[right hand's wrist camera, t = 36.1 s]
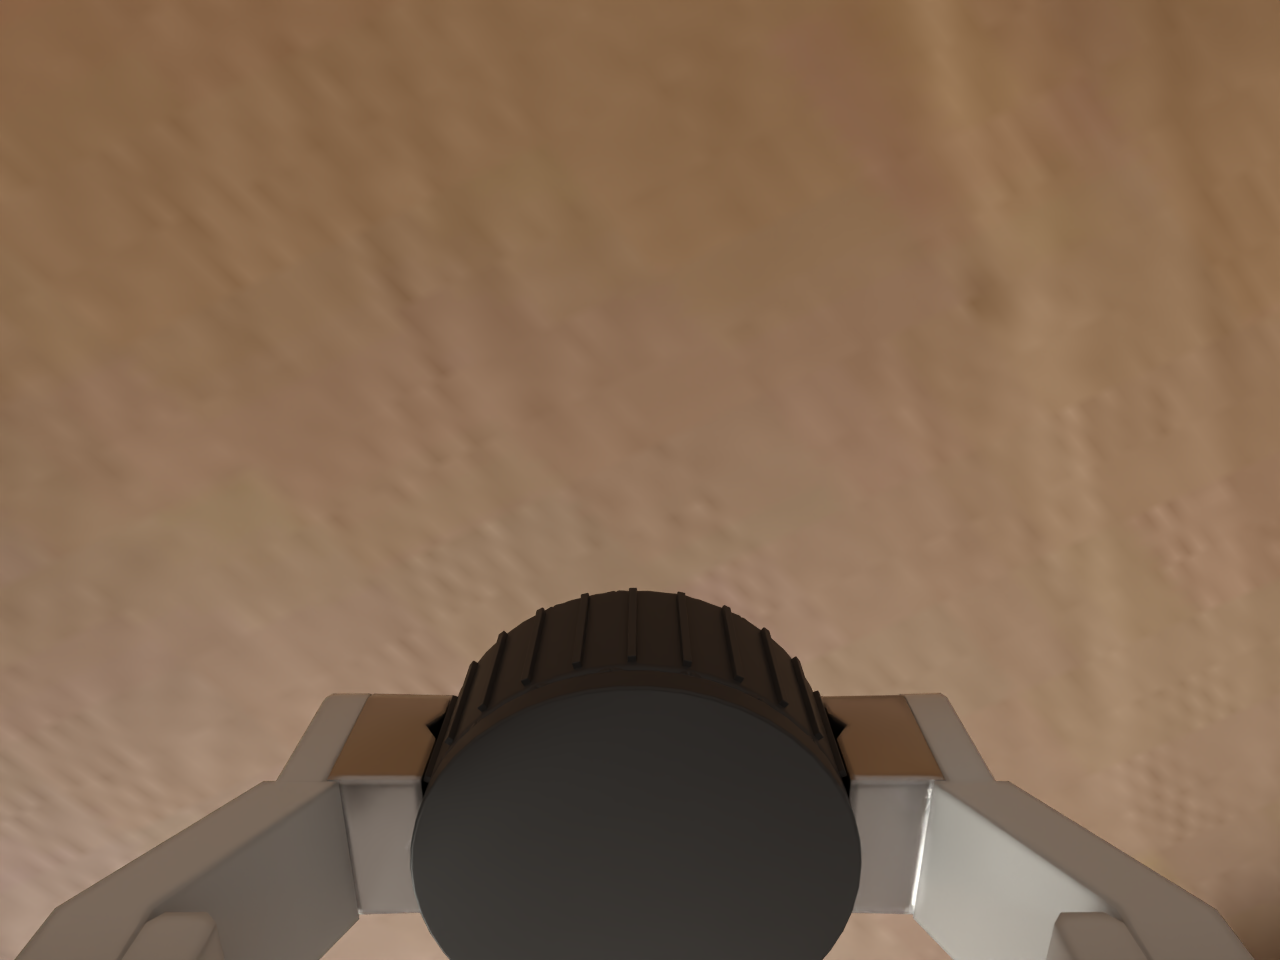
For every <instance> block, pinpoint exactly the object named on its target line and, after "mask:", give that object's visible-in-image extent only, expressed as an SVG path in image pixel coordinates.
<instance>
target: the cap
mask: <svg viewBox="0 0 1280 960" xmlns="http://www.w3.org/2000/svg"><path fill="white" fill-rule="evenodd" d="M845 776H847V774H846V771H845V768H844V765H843V762H842V759H841V756H840V753H839V750H838V747H837V744H836V741H835V738H834V735H833V732H832V729H831V726H830V723H829V720H828V717H827V714H826V711H825V708H824V705H823V702H822V699H821V696H820V694H819V691H815V692H813V691H812V688H811V686H810V685H809V683H808V681H807V680H806V678H805V676H804V673H803V670H802V666H801V663H800V661H799V659H798V658H797V657H794V658H792V659H791V657H790V656H789V655H788V654H787V653H786V651H785V650H784V649H783V648H782V647H780V646H779V645H778V644H777V643H776V642H775V641H774V640H773V639H772V638H771V636H770V632H769V630H767V629H766V628H763V629H762V630H760V629H758V628H757V627H755V626H754V625H753V624H751V623H750V622H748V621H747V620H746V619H744V618H741V617H740V616H739V615H737V614H734V613H731V609H730V607H727V606H725V605H724V606H723V607H722V608H721V607H718V606H715V605H713V604H710V603H707V602H704V601H701V600H699V599H694V598H691V597H688V596H686V595H685V593H683V592H678V593H677V594H672V593H662V592H653V591H637V588H629V591H617V592H615V591H611V592H607V593H602V594H595V595H591V596H589V594H588V593H585V594H581V598H579V599H575V600H571V601H568V602H565V603H562V604H558V605H555V606H554V607H550V608H548V609H547V610H544V608H541V609H539V610H537V612H536V616H534V617H532V618H530V619H528V620H526V621H524V622H523V623H521V624H520V625H519V626H517V627H516V628H514V629H513V630H511V631H510V632H509V633H506V632H505V631H503V632H502V633H500V634H499V636H498V640H497V643H496V644H495V645H494V646H492V647H491V648H490V649H489V650H488V651H487V652H486V653H485V655H484V656H483V657H482V658H481V660H480V661H479V662H478V663H477V662H475V661H473V662H472V663H471V664H470V666H469V669H468V672H467V675H466V678H465V681H464V684H463V687H462V688H461V690H460V693H459V696H458V697H457V696H454V695H453V696H452V698H451V701H450V704H449V707H448V710H447V712H446V715H445V718H444V721H443V724H442V727H441V730H440V732H439V735H438V738H437V741H436V744H435V747H434V750H433V752H432V755H431V758H430V761H429V764H428V767H427V770H426V772H425V775H424V778H423V781H424V782H427V783H428V785H427V788H426V791H425V794H424V797H423V800H422V803H421V805H420V808H419V811H418V814H417V817H416V820H415V825H414V830H413V835H412V839H411V851H410V870H411V877H412V885H413V891H414V894H415V897H416V901H417V904H418V907H419V910H420V913H421V915H422V917H423V919H424V921H425V924H426V926H427V928H428V930H429V932H430V934H431V935H432V937H433V938H434V939H435V941H436V942H437V944H438V945H439V947H440V948H441V950H442V951H443V953H444V954H445V955H446V956H447V957H448V958H449V959H450V960H823V958H824V957H825V956H826V955H827V954H828V953H829V951H830V950H831V949H832V947H833V946H834V944H835V943H836V941H837V940H838V938H839V937H840V935H841V933H842V932H843V930H844V928H845V926H846V924H847V922H848V919H849V917H850V915H851V913H852V911H853V907H854V904H855V900H856V897H857V893H858V890H859V885H860V876H861V866H862V858H861V841H860V836H859V832H858V828H857V824H856V819H855V816H854V813H853V809H852V806H851V803H850V800H849V798H848V795H847V791H846V788H845V785H844V782H843V779H842V777H845Z"/></svg>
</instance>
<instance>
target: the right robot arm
mask: <svg viewBox="0 0 1280 960" xmlns="http://www.w3.org/2000/svg"><path fill="white" fill-rule="evenodd" d="M452 696H453V695H412V694H373V695H372V694H332V695H330V696H328V697H326V698H325V699H324V701H323V702H322V704H321V706H320V707H319V709H318V711H317V712H316V714H315V716H314V718H313V719H312V721H311V723H310V724H309V726H308V728H307V729H306V731H305V733H304V735H303V736H302V738H301V740H300V741H299V743H298V745H297V746H296V748H295V750H294V751H293V753H292V755H291V757H290V758H289V760H288V762H287V763H286V765H285V767H284V768H283V770H282V772H281V774H280V775H279V777H278V779H277V780H276V781H263V782H261V783H260V784H258V785H256V786H255V787H253V788H251V789H250V790H248V791H247V792H245V793H243V794H242V795H240V796H238V797H237V798H235V799H233V800H232V801H230V802H229V803H227V804H225V805H224V806H222V807H220V808H219V809H217V810H215V811H214V812H212V813H210V814H209V815H207V816H206V817H204V818H202V819H201V820H199V821H197V822H196V823H194V824H192V825H191V826H189V827H188V828H186V829H184V830H183V831H181V832H179V833H178V834H176V835H174V836H173V837H171V838H169V839H168V840H166V841H165V842H163V843H161V844H160V845H158V846H156V847H155V848H153V849H151V850H150V851H148V852H146V853H145V854H143V855H142V856H140V857H138V858H137V859H135V860H133V861H132V862H130V863H128V864H127V865H125V866H124V867H122V868H120V869H119V870H117V871H115V872H114V873H112V874H110V875H109V876H107V877H105V878H104V879H102V880H101V881H99V882H97V883H96V884H94V885H92V886H91V887H89V888H87V889H86V890H84V891H83V892H81V893H79V894H78V895H76V896H74V897H73V898H71V899H69V900H68V901H66V902H64V903H63V904H61V905H60V906H58V907H56V908H55V909H54V910H53V912H52V913H51V914H50V915H49V917H48V918H47V919H46V920H45V922H44V923H43V924H42V926H41V927H40V928H39V929H38V931H37V932H36V933H35V934H34V936H33V937H32V938H31V940H30V941H29V942H28V943H27V945H26V946H25V947H24V948H23V950H22V951H21V952H20V954H19V955H18V956H17V957H16V959H15V960H319V959H320V958H321V957H322V956H323V955H324V954H325V953H326V952H327V951H328V950H329V949H330V948H331V947H332V946H333V945H334V944H335V943H336V942H337V941H338V940H339V939H340V938H341V937H342V936H343V935H344V934H345V933H346V932H347V931H348V930H349V929H350V928H351V927H352V926H353V925H354V924H355V923H356V922H357V921H358V920H359V914H388V913H420V910H419V907H418V904H417V901H416V897H415V894H414V891H413V885H412V877H411V870H410V851H411V839H412V835H413V830H414V825H415V820H416V817H417V814H418V811H419V808H420V805H421V803H422V800H423V797H424V794H425V791H426V788H427V785H428V783H427V782H424V781H423V778H424V775H425V772H426V770H427V767H428V764H429V761H430V758H431V755H432V752H433V750H434V747H435V744H436V741H437V738H438V735H439V732H440V730H441V727H442V724H443V721H444V718H445V715H446V712H447V710H448V707H449V704H450V701H451V698H452ZM821 699H822V702H823V705H824V708H825V711H826V714H827V717H828V720H829V723H830V726H831V729H832V732H833V735H834V738H835V741H836V744H837V747H838V750H839V753H840V756H841V759H842V762H843V765H844V768H845V771H846V774H847V776H845V777H842V779H843V782H844V785H845V788H846V791H847V795H848V798H849V800H850V803H851V806H852V809H853V813H854V816H855V819H856V824H857V828H858V832H859V836H860V841H861V858H862V866H861V876H860V885H859V890H858V893H857V897H856V900H855V904H854V907H853V911H852V913H883V914H914V915H913V918H914V920H915V921H916V922H917V923H918V924H919V925H920V926H921V927H922V928H923V929H924V930H925V931H926V932H927V933H928V934H929V935H930V936H931V937H932V938H933V939H934V940H935V941H936V942H937V943H938V944H939V945H940V946H941V947H942V949H943V950H944V951H945V952H946V953H947V954H948V955H949V956H950V957H951V958H952V959H953V960H1255V959H1254V958H1253V957H1252V955H1251V954H1250V953H1249V951H1248V950H1247V949H1246V948H1245V946H1244V945H1243V944H1242V942H1241V941H1240V940H1239V938H1238V937H1237V936H1236V934H1235V933H1234V932H1233V931H1232V929H1231V928H1230V927H1229V925H1228V924H1227V923H1226V921H1225V920H1224V919H1223V917H1222V916H1221V915H1220V914H1219V912H1218V911H1217V910H1216V909H1215V908H1213V907H1211V906H1210V905H1208V904H1207V903H1205V902H1203V901H1202V900H1200V899H1198V898H1197V897H1195V896H1194V895H1192V894H1190V893H1189V892H1187V891H1185V890H1184V889H1182V888H1181V887H1179V886H1177V885H1176V884H1174V883H1173V882H1171V881H1169V880H1168V879H1166V878H1164V877H1163V876H1161V875H1160V874H1158V873H1156V872H1155V871H1153V870H1151V869H1150V868H1148V867H1147V866H1145V865H1143V864H1142V863H1140V862H1139V861H1137V860H1135V859H1134V858H1132V857H1130V856H1129V855H1127V854H1126V853H1124V852H1122V851H1121V850H1119V849H1117V848H1116V847H1114V846H1113V845H1111V844H1109V843H1108V842H1106V841H1104V840H1103V839H1101V838H1100V837H1098V836H1096V835H1095V834H1093V833H1092V832H1090V831H1088V830H1087V829H1085V828H1083V827H1082V826H1080V825H1079V824H1077V823H1075V822H1074V821H1072V820H1070V819H1069V818H1067V817H1066V816H1064V815H1062V814H1061V813H1059V812H1058V811H1056V810H1054V809H1053V808H1051V807H1049V806H1048V805H1046V804H1045V803H1043V802H1041V801H1040V800H1038V799H1036V798H1035V797H1033V796H1032V795H1030V794H1028V793H1027V792H1025V791H1023V790H1022V789H1020V788H1019V787H1017V786H1015V785H1014V784H1012V783H1011V782H1009V781H996V780H995V779H994V777H993V775H992V774H991V772H990V770H989V768H988V767H987V765H986V763H985V762H984V760H983V758H982V756H981V755H980V753H979V751H978V750H977V748H976V746H975V744H974V743H973V741H972V739H971V738H970V736H969V734H968V732H967V731H966V729H965V727H964V726H963V724H962V722H961V720H960V719H959V717H958V715H957V714H956V712H955V710H954V708H953V707H952V705H951V703H950V702H949V700H948V698H947V697H946V696H944V695H943V694H941V693H925V694H900V695H882V696H821Z"/></svg>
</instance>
